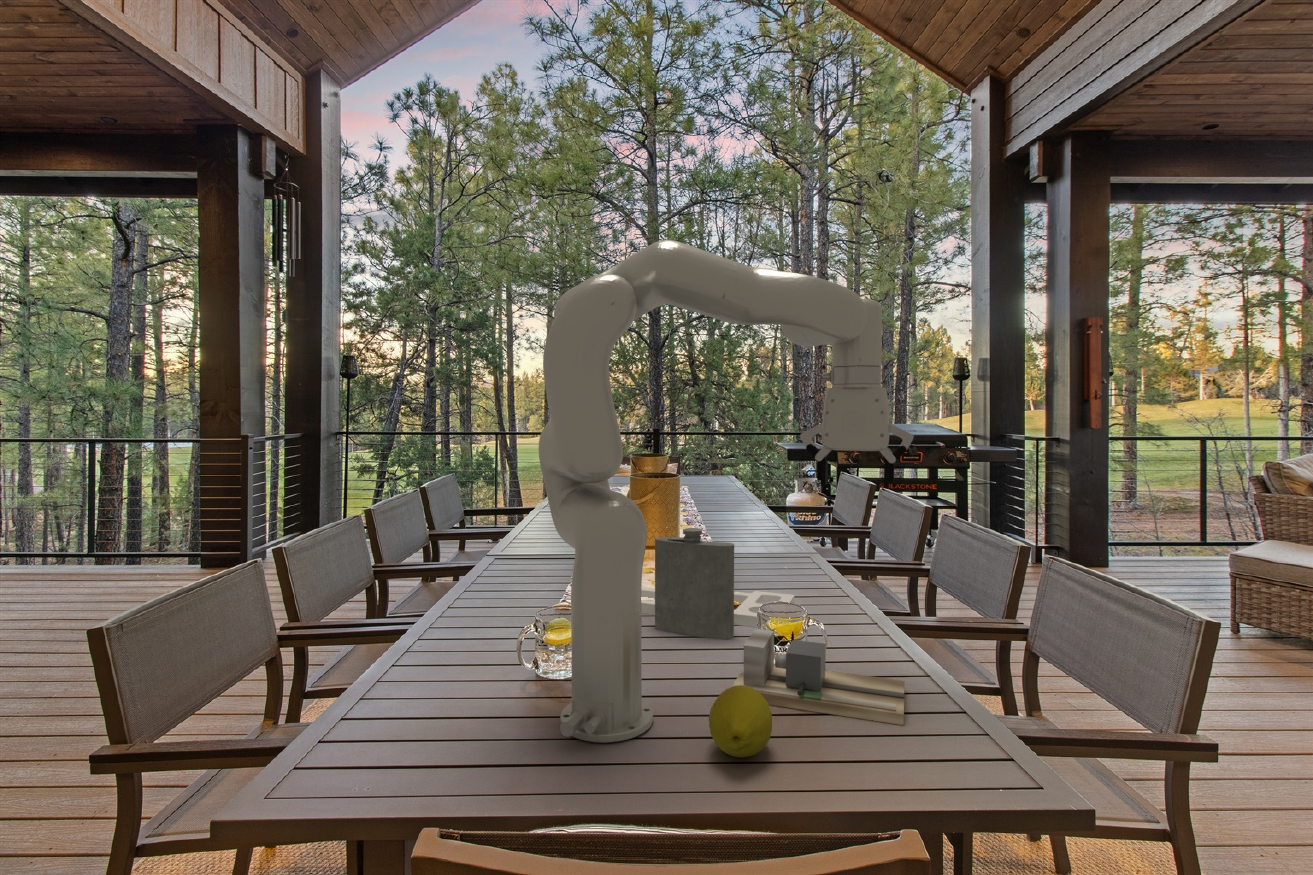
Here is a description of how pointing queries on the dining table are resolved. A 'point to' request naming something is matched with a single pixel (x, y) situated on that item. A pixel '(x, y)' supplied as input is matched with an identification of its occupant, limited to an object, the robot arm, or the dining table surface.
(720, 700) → the lemon
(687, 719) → the dining table surface
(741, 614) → the holder
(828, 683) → the track board
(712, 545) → the hip flask
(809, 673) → the block
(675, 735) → the dining table surface
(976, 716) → the dining table surface
